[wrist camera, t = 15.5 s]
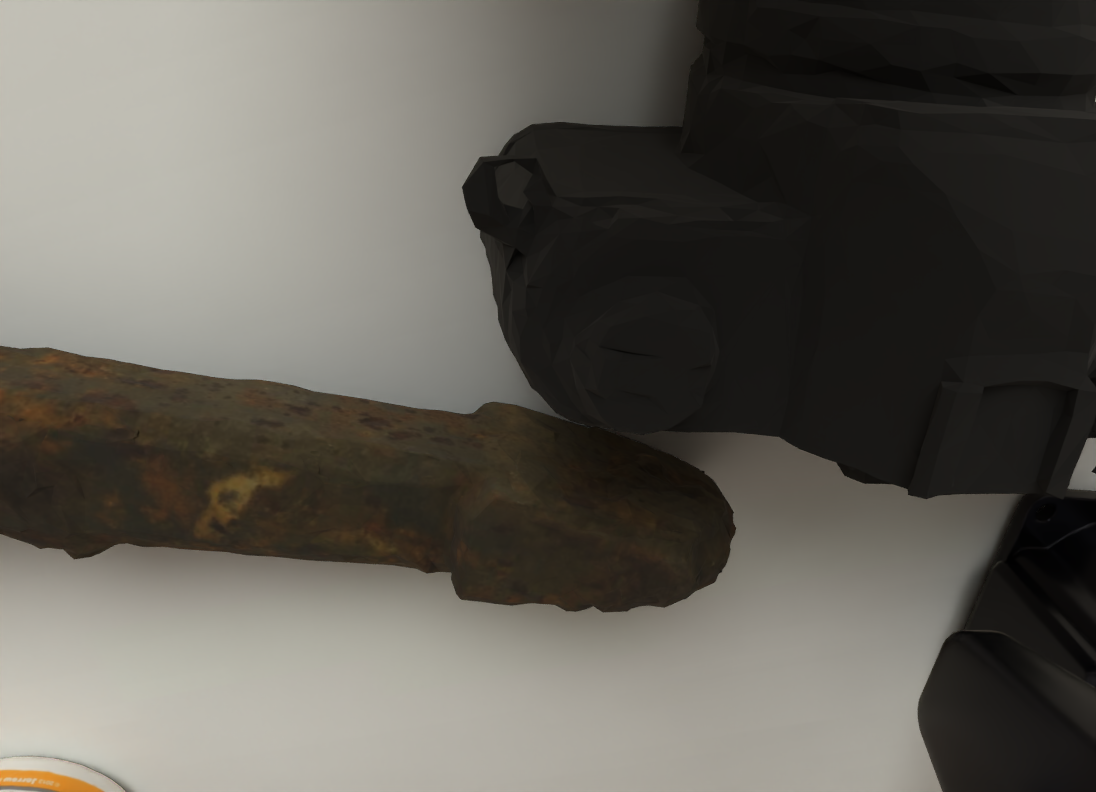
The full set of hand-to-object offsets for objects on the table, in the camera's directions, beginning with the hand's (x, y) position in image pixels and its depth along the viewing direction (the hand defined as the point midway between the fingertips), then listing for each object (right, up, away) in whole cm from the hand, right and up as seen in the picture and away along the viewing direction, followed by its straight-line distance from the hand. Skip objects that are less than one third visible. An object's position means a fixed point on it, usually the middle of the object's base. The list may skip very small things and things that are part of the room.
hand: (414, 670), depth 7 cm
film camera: (+7, +8, +12) cm, 16 cm away
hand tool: (-4, +2, +13) cm, 14 cm away
